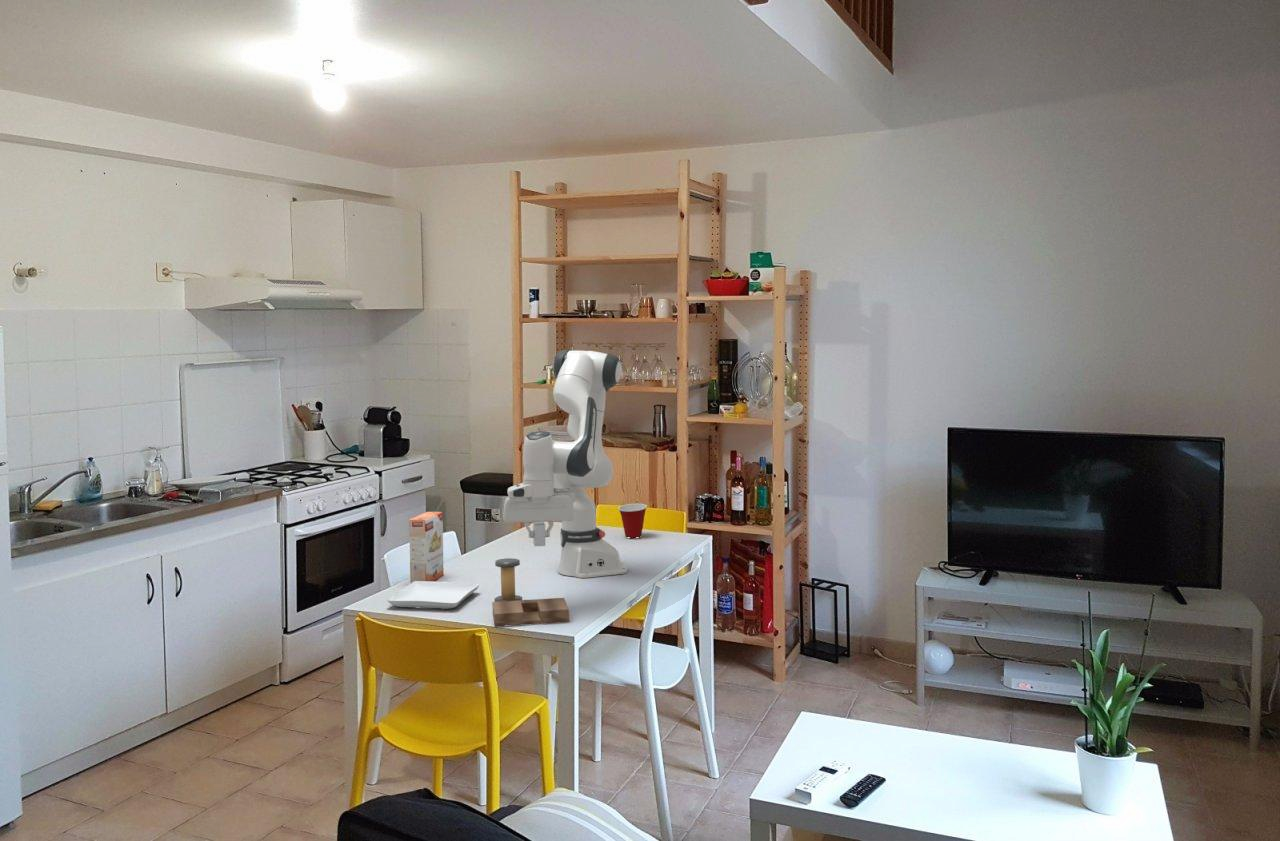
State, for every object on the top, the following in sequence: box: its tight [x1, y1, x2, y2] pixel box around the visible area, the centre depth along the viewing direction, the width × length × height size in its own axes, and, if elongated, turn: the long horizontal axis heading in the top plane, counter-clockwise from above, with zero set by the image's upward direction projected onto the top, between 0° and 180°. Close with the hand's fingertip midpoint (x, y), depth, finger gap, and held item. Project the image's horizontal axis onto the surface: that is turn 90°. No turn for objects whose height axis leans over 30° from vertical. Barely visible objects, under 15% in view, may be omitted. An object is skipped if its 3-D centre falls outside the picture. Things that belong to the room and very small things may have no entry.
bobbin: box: [494, 557, 523, 602], centre depth 298 cm, size 8×8×12 cm
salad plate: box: [386, 580, 480, 610], centre depth 303 cm, size 21×21×3 cm
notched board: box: [491, 597, 570, 628], centre depth 284 cm, size 20×12×4 cm, turn 101°
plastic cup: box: [617, 503, 648, 538], centre depth 386 cm, size 11×11×12 cm
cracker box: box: [408, 511, 445, 584], centre depth 326 cm, size 14×6×21 cm, turn 168°
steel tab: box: [532, 522, 546, 547], centre depth 295 cm, size 3×5×6 cm, turn 11°
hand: (539, 537), depth 295 cm, fingers closed on steel tab, 3 cm apart
